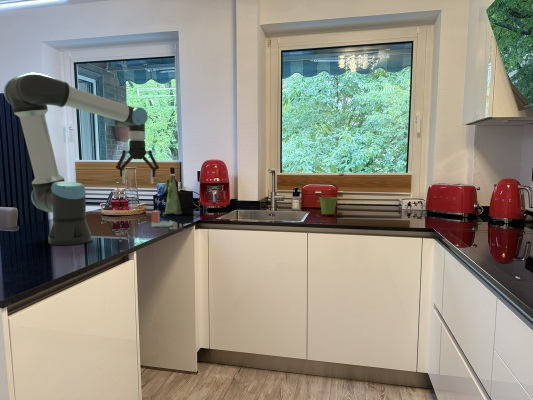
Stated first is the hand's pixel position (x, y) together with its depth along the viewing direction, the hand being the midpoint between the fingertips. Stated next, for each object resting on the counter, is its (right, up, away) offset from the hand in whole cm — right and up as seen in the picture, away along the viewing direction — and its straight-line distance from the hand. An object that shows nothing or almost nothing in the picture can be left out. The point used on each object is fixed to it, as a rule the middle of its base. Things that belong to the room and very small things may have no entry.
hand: (138, 183), depth 190 cm
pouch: (+6, -17, +46) cm, 50 cm away
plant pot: (+102, -18, +48) cm, 114 cm away
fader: (+8, -19, +2) cm, 21 cm away
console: (+11, -21, +2) cm, 24 cm away
